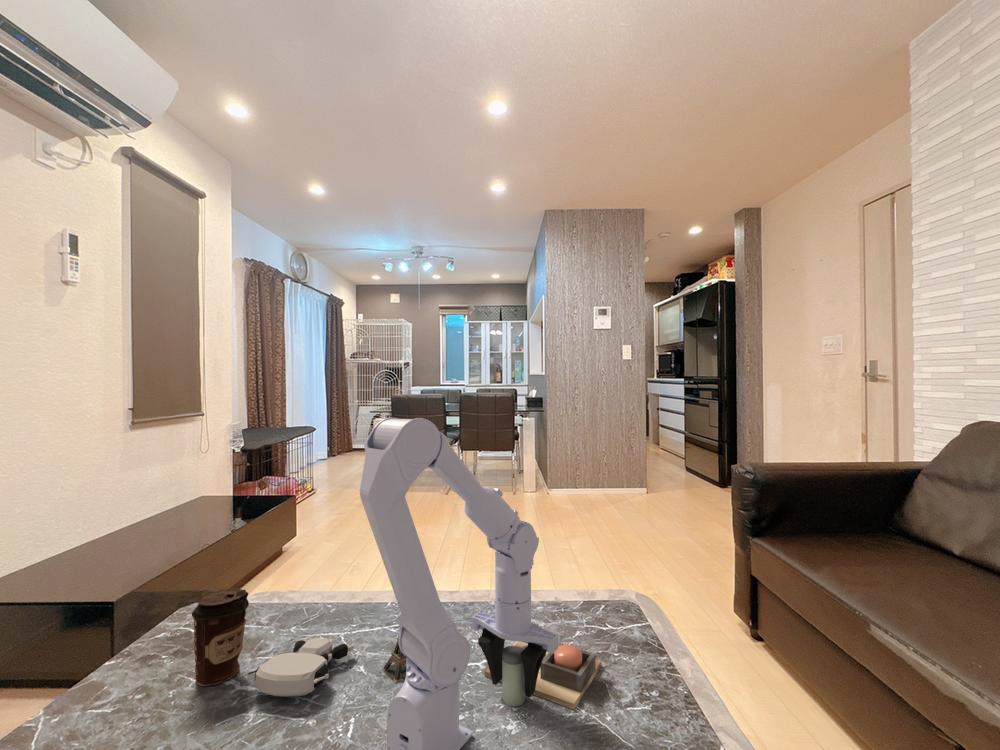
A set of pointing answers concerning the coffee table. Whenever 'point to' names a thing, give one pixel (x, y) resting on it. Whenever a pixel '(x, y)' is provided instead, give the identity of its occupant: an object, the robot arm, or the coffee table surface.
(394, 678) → the eiffel tower figurine
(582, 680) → the wooden base tray
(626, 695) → the coffee table surface
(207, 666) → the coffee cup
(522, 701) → the green capped bottle
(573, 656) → the button
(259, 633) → the coffee table surface
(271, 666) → the robot toy
